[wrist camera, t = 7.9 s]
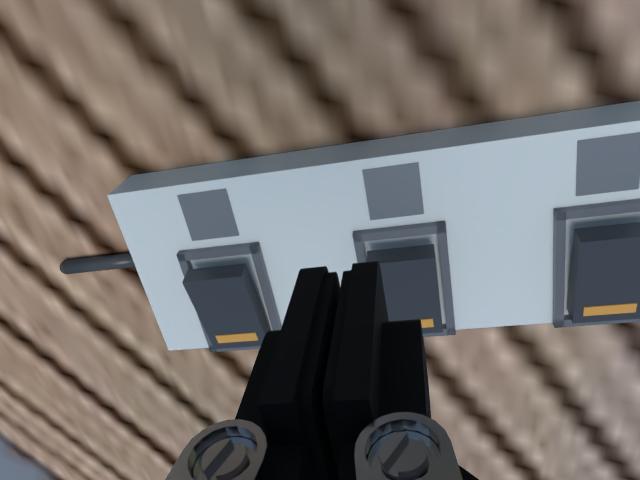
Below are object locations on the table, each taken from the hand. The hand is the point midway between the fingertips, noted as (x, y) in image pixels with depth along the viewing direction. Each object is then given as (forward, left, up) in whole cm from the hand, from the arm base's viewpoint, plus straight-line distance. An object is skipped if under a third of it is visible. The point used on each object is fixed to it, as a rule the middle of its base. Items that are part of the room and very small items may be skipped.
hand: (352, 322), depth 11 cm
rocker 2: (+14, +13, -22) cm, 29 cm away
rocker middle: (+14, 0, -22) cm, 26 cm away
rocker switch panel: (+11, -5, -27) cm, 30 cm away
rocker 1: (+14, -13, -22) cm, 29 cm away
